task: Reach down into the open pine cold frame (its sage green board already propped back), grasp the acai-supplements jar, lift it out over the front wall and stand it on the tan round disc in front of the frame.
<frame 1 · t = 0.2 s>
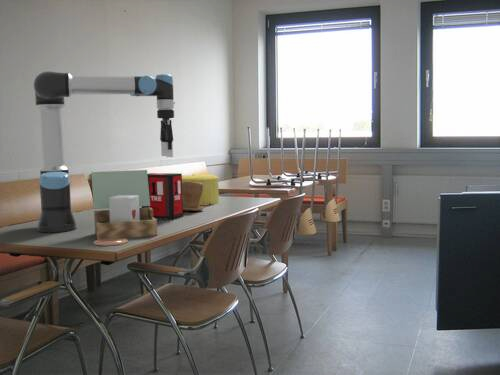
hand: (167, 156, 266), 28 cm above the table, fingers open, 13 cm apart
cold frame: (125, 234, 226), on the table
cleaning product box: (162, 217, 268), on the table
supplement box: (125, 235, 226), resting in cold frame
cheese: (195, 203, 320), on the table
sage green board: (120, 189, 234), point 17 cm above the table, hinge at 110.0°
brown tapered block: (189, 211, 289), on the table
tan round disc: (110, 242, 210), on the table
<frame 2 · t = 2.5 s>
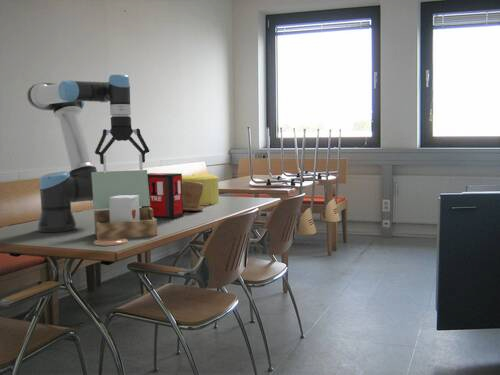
hand: (123, 172, 224), 24 cm above the table, fingers open, 13 cm apart
nothing on the table moved.
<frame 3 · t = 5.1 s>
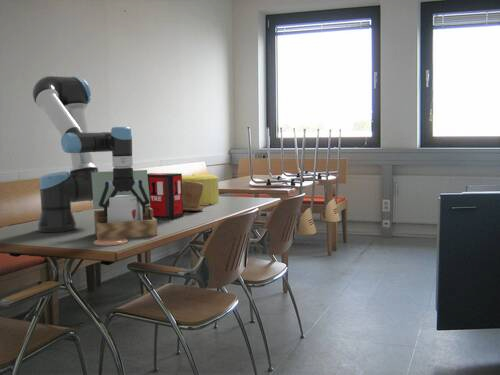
hand: (125, 223, 226), 4 cm above the table, fingers closed on supplement box, 12 cm apart
supplement box: (125, 235, 226), resting in cold frame, touching gripper
everything else where it was.
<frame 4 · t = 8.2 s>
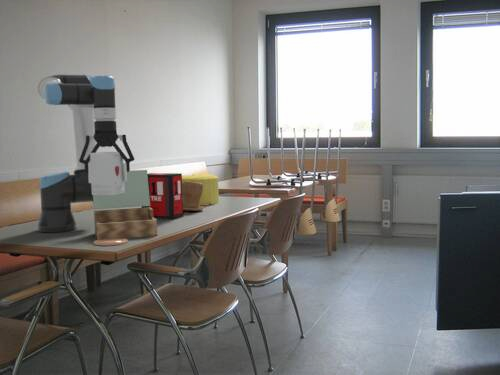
hand: (107, 181, 208), 22 cm above the table, fingers closed on supplement box, 12 cm apart
supplement box: (108, 194, 208), point 17 cm above the table, touching gripper
everything else where it was.
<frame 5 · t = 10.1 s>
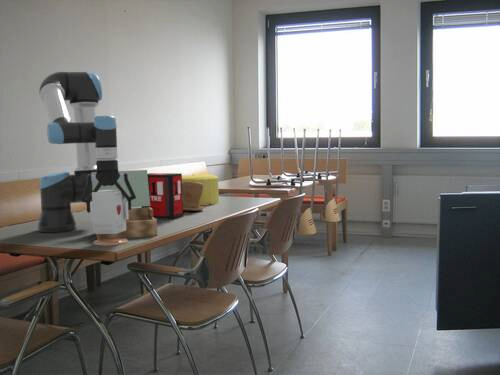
hand: (109, 220, 209), 8 cm above the table, fingers closed on supplement box, 12 cm apart
supplement box: (110, 232, 210), point 4 cm above the table, touching gripper
everything else where it was.
when the fingers open (6 cm above the table, at t = 11.5 s): supplement box drops 1 cm, resting on tan round disc.
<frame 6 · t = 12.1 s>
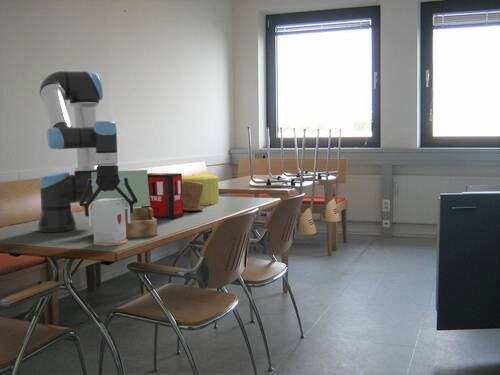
hand: (109, 224, 209), 7 cm above the table, fingers open, 13 cm apart
supplement box: (110, 241, 210), resting on tan round disc
everything else where it was.
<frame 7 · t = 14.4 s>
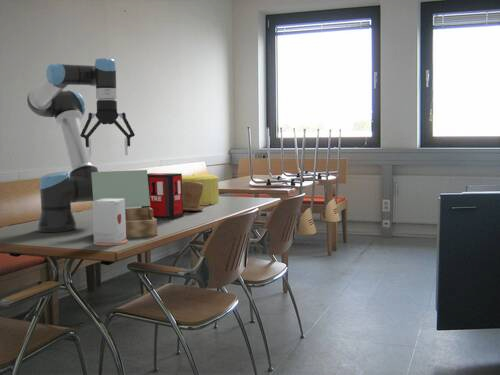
hand: (108, 155, 226), 31 cm above the table, fingers open, 13 cm apart
nothing on the table moved.
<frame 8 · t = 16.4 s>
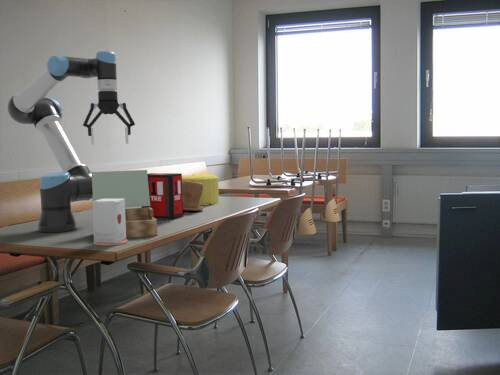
hand: (110, 144, 237), 35 cm above the table, fingers open, 13 cm apart
nothing on the table moved.
at the end: supplement box 0.0 cm from the tan round disc (horizontally); supplement box tilted 0°; the gripper is holding nothing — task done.
